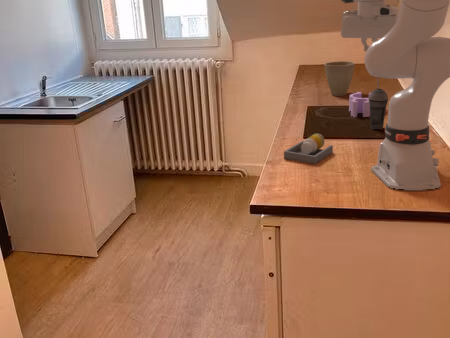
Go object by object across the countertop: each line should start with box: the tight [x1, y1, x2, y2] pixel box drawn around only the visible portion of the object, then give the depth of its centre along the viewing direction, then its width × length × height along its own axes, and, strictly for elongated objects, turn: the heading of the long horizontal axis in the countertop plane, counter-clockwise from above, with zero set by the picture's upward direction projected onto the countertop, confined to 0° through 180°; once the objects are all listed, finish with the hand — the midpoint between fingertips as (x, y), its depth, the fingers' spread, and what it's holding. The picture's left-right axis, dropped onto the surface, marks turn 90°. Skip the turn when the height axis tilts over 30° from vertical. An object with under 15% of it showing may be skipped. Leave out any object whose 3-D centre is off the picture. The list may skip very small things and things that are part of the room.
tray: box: [283, 140, 334, 165], centre depth 158 cm, size 13×12×2 cm
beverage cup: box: [368, 77, 389, 130], centre depth 179 cm, size 7×7×20 cm
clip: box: [348, 91, 371, 118], centre depth 206 cm, size 20×12×7 cm, turn 158°
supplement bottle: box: [301, 133, 325, 154], centre depth 159 cm, size 5×5×10 cm
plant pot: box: [324, 60, 356, 97], centre depth 239 cm, size 15×15×16 cm
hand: (368, 51), depth 164 cm, fingers closed
